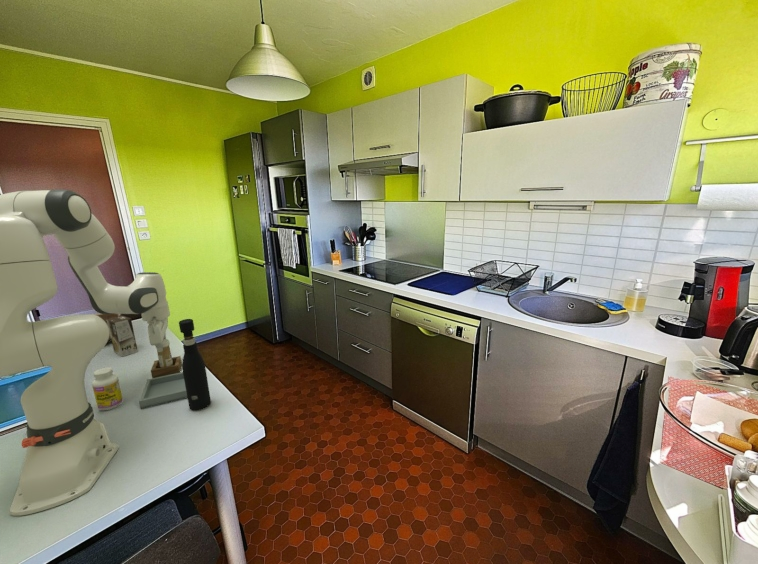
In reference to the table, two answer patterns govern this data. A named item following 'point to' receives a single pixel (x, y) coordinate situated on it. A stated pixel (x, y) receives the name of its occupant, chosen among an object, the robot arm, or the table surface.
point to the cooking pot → (107, 316)
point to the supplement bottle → (106, 389)
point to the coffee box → (122, 335)
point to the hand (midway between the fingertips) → (162, 346)
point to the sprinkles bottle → (165, 355)
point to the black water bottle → (194, 369)
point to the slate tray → (163, 390)
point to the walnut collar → (166, 368)
